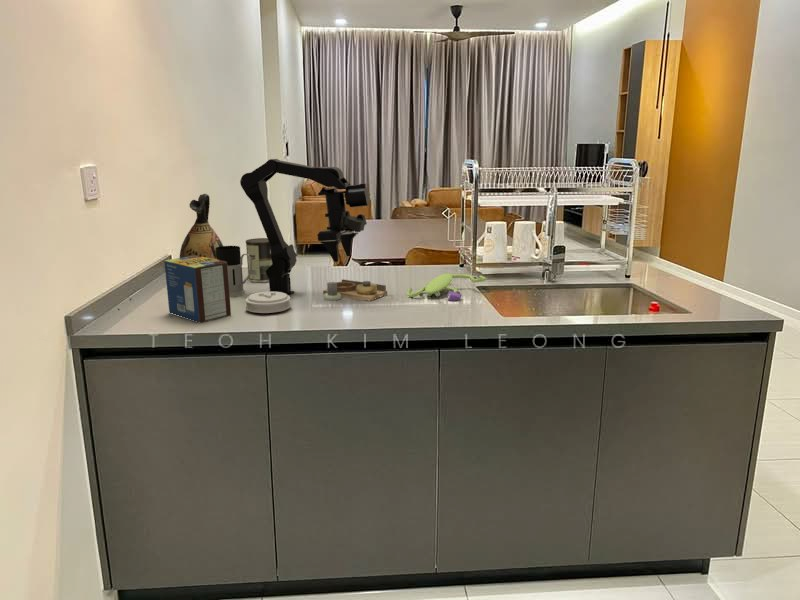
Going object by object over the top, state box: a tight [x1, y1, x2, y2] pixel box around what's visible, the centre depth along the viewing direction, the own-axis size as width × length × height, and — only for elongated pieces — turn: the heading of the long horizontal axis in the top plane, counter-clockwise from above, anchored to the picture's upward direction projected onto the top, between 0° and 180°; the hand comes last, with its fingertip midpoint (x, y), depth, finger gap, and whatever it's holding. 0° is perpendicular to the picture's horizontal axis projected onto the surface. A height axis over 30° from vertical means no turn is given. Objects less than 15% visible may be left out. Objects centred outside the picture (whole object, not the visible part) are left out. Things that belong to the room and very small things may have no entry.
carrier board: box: [322, 279, 388, 302], centre depth 194 cm, size 10×18×5 cm, turn 59°
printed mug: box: [245, 237, 272, 283], centre depth 214 cm, size 10×10×14 cm
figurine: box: [406, 272, 487, 302], centre depth 197 cm, size 18×27×6 cm
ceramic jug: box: [179, 193, 224, 259], centre depth 212 cm, size 17×15×30 cm
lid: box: [245, 291, 291, 314], centre depth 176 cm, size 13×13×5 cm
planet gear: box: [323, 281, 342, 302], centre depth 189 cm, size 5×5×5 cm
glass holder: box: [216, 245, 252, 298], centre depth 192 cm, size 9×14×15 cm, turn 59°
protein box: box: [163, 256, 232, 323], centre depth 170 cm, size 10×15×16 cm
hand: (342, 259), depth 189 cm, fingers open, 9 cm apart
